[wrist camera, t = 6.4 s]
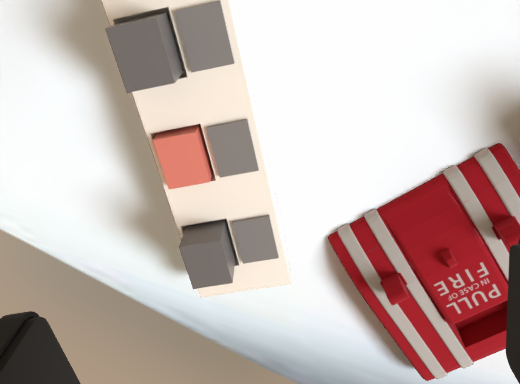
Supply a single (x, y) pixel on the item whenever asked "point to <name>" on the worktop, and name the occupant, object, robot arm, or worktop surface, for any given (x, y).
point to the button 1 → (145, 52)
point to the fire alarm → (441, 262)
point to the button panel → (216, 136)
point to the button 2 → (183, 156)
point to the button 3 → (208, 254)
